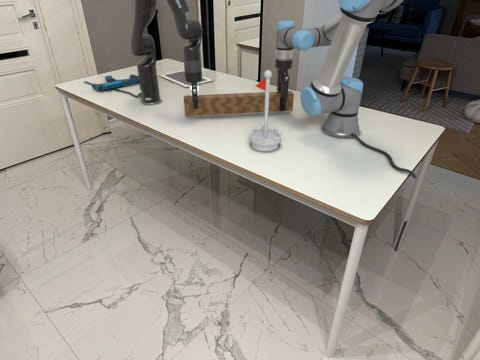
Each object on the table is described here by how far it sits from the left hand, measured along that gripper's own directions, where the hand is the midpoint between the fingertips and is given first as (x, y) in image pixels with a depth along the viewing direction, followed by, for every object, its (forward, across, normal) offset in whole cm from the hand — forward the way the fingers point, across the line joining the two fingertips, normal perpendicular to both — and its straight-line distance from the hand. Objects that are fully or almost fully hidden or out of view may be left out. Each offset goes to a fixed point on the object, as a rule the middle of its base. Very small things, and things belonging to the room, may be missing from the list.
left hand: (195, 106), depth 159 cm
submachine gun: (+6, -61, -46) cm, 77 cm away
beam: (+4, 0, +20) cm, 21 cm away
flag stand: (+6, +32, +27) cm, 42 cm away
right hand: (+3, 0, +41) cm, 41 cm away
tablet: (+6, -66, -6) cm, 66 cm away
